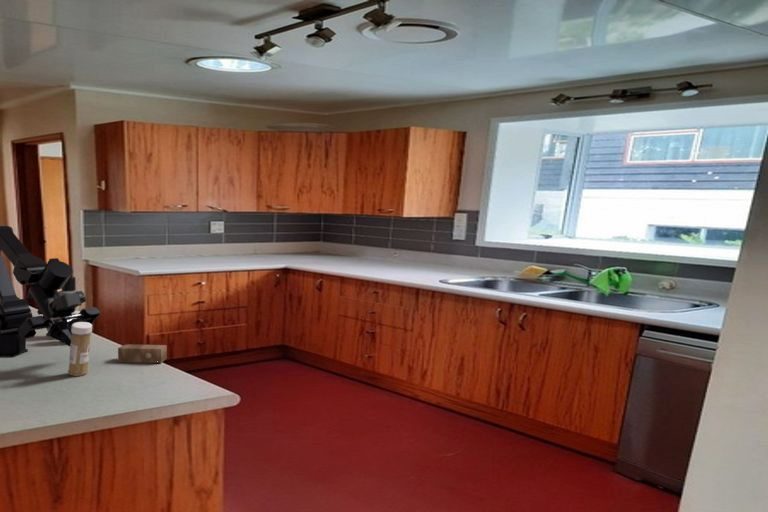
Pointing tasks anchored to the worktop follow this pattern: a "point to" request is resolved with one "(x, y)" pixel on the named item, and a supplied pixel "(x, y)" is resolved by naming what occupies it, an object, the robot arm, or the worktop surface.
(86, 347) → the sprinkles bottle
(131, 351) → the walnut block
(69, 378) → the worktop surface
